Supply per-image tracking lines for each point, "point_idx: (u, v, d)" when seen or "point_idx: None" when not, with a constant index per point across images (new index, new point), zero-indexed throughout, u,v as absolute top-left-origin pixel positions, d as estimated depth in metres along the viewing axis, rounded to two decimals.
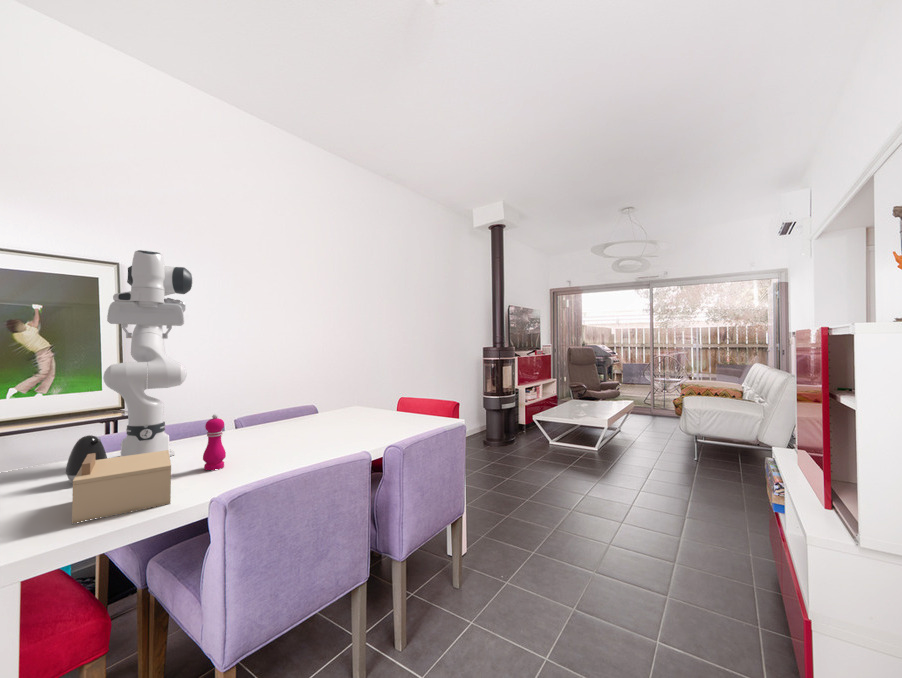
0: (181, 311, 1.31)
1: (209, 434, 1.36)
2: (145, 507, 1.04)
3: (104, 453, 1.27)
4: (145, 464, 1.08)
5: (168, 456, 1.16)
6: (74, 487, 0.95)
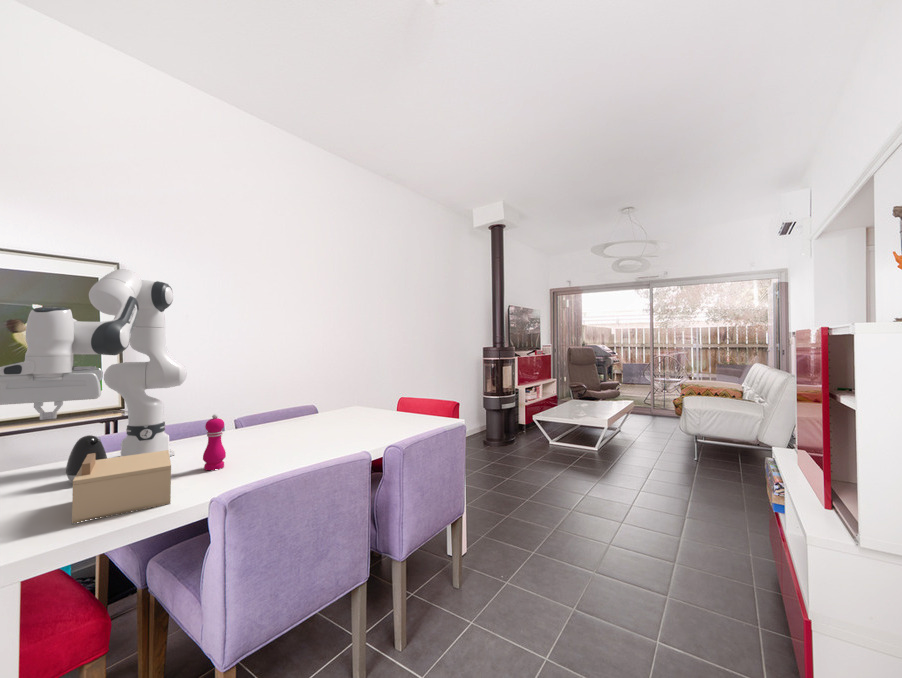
0: (96, 381, 1.04)
1: (209, 434, 1.36)
2: (145, 507, 1.04)
3: (104, 453, 1.27)
4: (145, 464, 1.08)
5: (168, 456, 1.16)
6: (74, 487, 0.95)
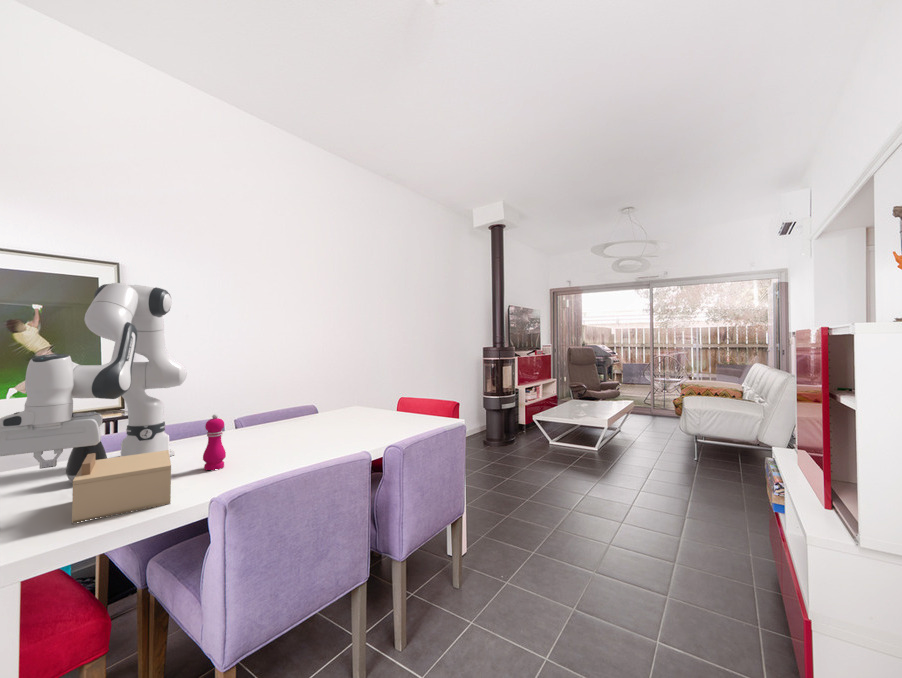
0: (95, 427, 1.03)
1: (209, 434, 1.36)
2: (145, 507, 1.04)
3: (104, 453, 1.27)
4: (145, 464, 1.08)
5: (168, 456, 1.16)
6: (74, 487, 0.95)
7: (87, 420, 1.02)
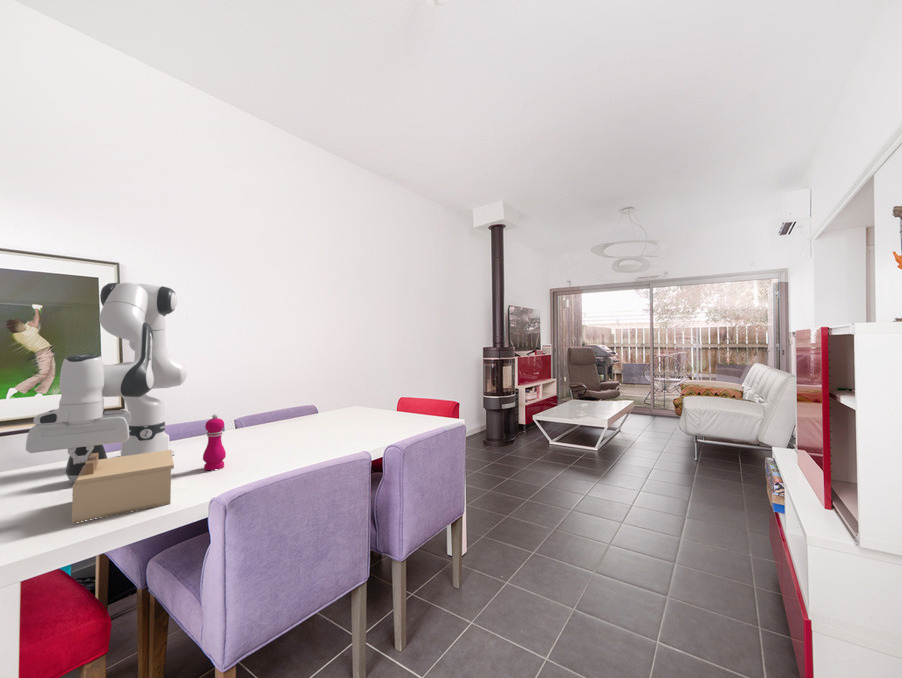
0: (125, 424, 1.07)
1: (209, 434, 1.36)
2: (145, 507, 1.04)
3: (104, 453, 1.27)
4: (148, 464, 1.08)
5: (171, 456, 1.16)
6: (74, 487, 0.95)
7: (117, 418, 1.06)
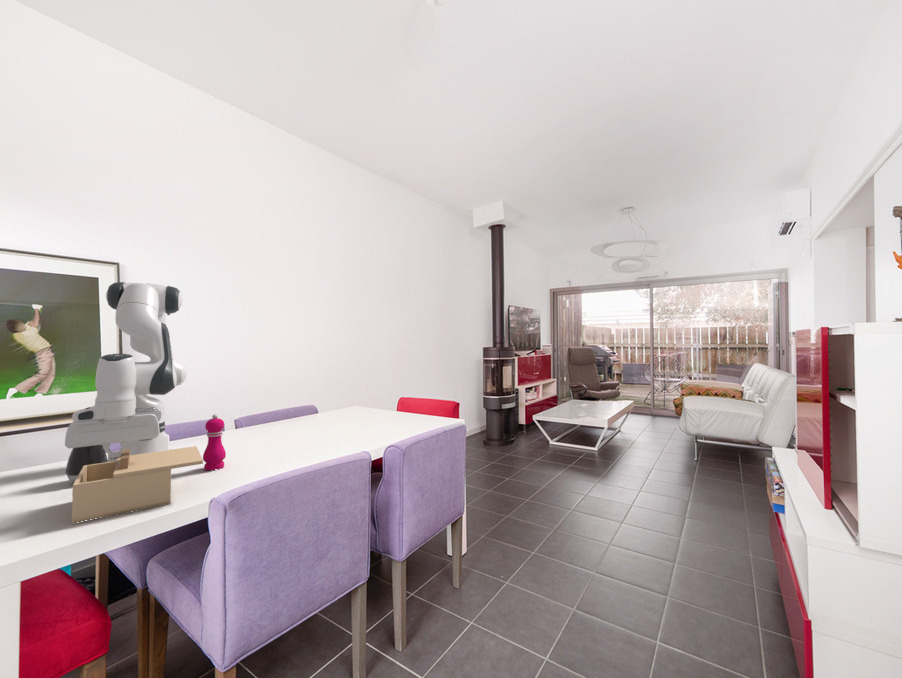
0: (156, 421, 1.12)
1: (209, 434, 1.36)
2: (145, 507, 1.04)
3: (104, 453, 1.27)
4: (178, 459, 1.13)
5: (198, 452, 1.21)
6: (74, 487, 0.95)
7: (149, 415, 1.11)
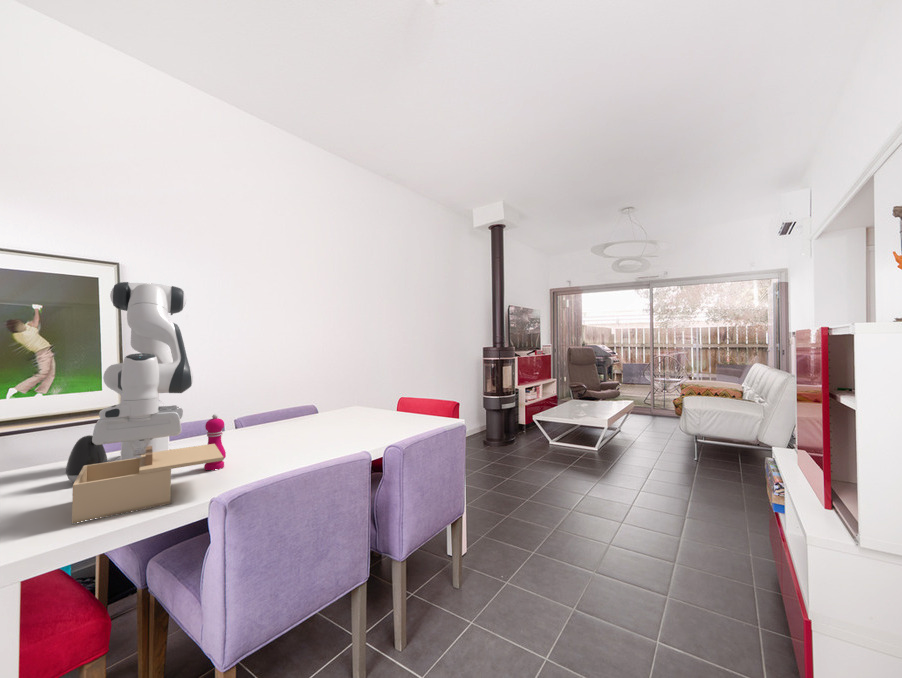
0: (178, 419, 1.15)
1: (209, 434, 1.36)
2: (145, 507, 1.04)
3: (104, 453, 1.27)
4: (199, 456, 1.16)
5: (217, 449, 1.24)
6: (74, 487, 0.95)
7: (171, 413, 1.14)
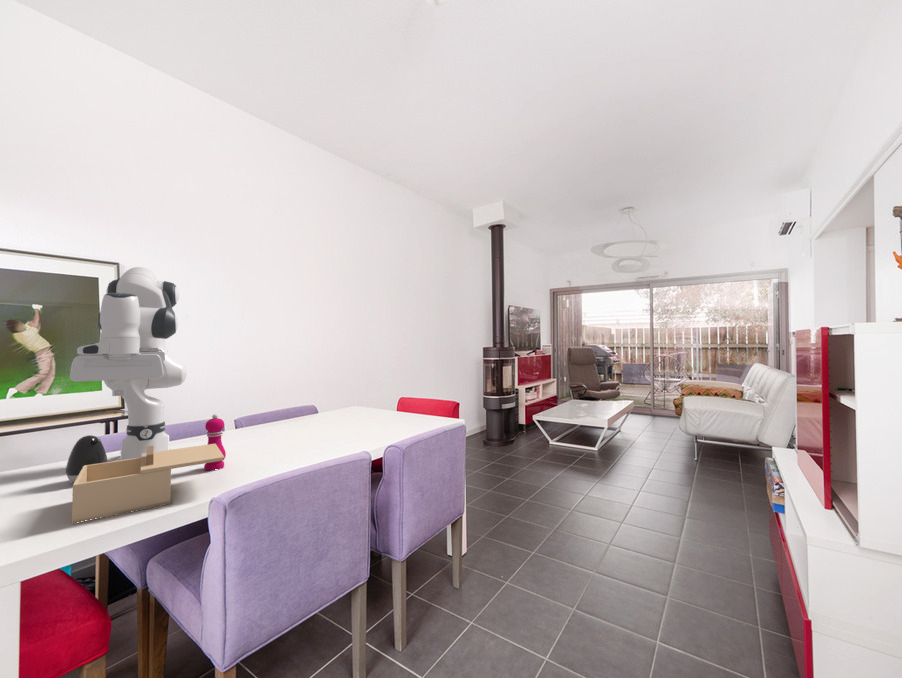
0: (160, 362, 1.13)
1: (209, 434, 1.36)
2: (145, 507, 1.04)
3: (104, 453, 1.27)
4: (200, 456, 1.16)
5: (218, 449, 1.24)
6: (74, 487, 0.95)
7: (153, 355, 1.12)
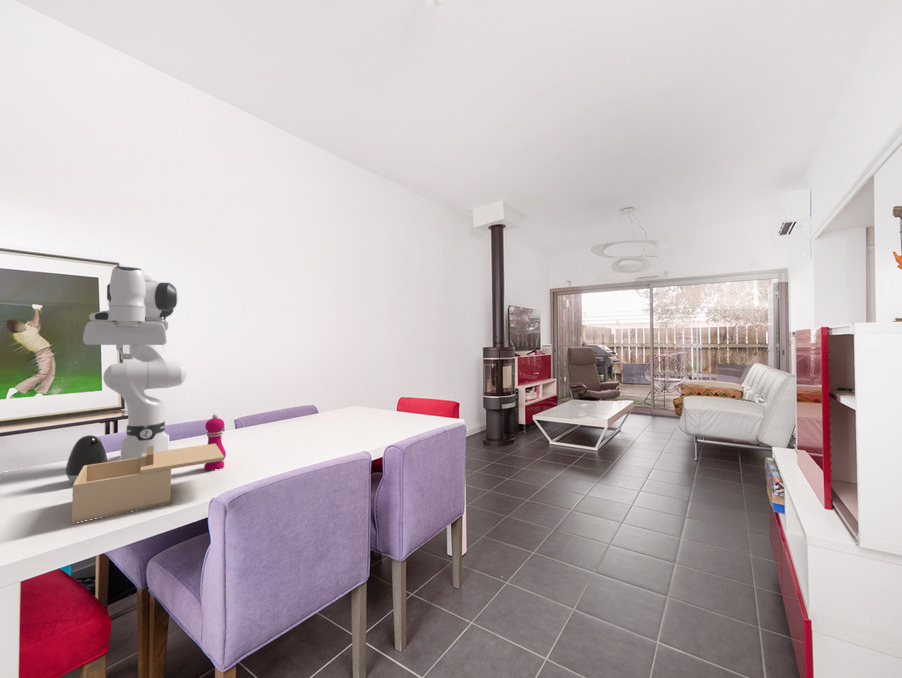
0: (163, 330, 1.24)
1: (209, 434, 1.36)
2: (145, 507, 1.04)
3: (104, 453, 1.27)
4: (200, 456, 1.16)
5: (218, 449, 1.24)
6: (74, 487, 0.95)
7: (157, 323, 1.23)
